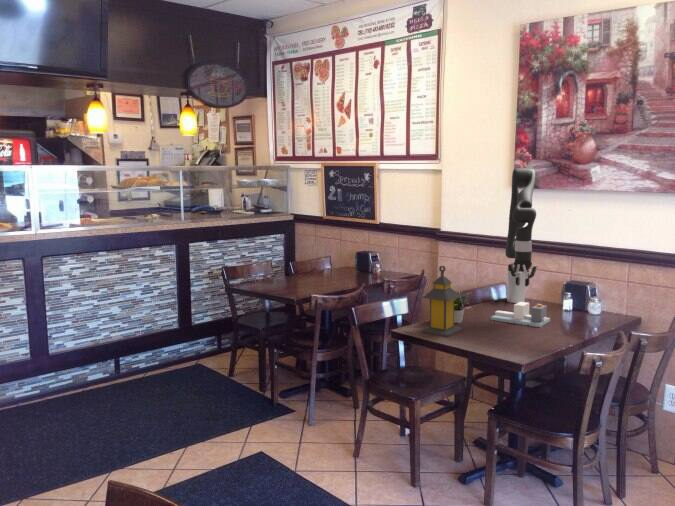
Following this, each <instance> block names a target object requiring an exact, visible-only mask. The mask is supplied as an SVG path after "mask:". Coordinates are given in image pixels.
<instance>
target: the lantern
mask: <svg viewBox="0 0 675 506" xmlns="http://www.w3.org/2000/svg"><path fill="white" fill-rule="evenodd" d="M438 269H439V272H440V276H438V278H437V279H435V281H433V282H432V284H433V288H432V289H431V290H430V291H429V292H427V293H426V294H425V295H424V296H422V298H423V299H428V300H429V326H427V327H425V328H422V329H421V333H424V334H429V335H435V336H439V337H440V336H441V337H446V338H447V337H451V336H454V335H455V333H456V334H458V333H460V332H462V331H463V328H462V327H459V326H455V323H454V300H455V299H456V298H459V297H463V296H462V295H459V292H457V291H456V292H455V289H453V288H452V287H451V284H453V282H452V281H451V280H449V279H448V277H446V276H445V271H446V266H445V265H440V266H439V267H438ZM461 330H462V331H461ZM459 331H460V332H459ZM457 332H458V333H457ZM453 334H454V335H453Z"/></svg>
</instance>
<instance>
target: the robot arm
mask: <svg viewBox="0 0 675 506" xmlns="http://www.w3.org/2000/svg"><path fill="white" fill-rule="evenodd" d="M535 182H536V171H535V170H534V169H533V168H525V167H524V168H521V167H519V168H517V167H516V168H514V169H513V171H512V175H511V194H510V195H511V197H510V198H511V199H510V207H509V216H508V229H507V238H506V243H505V256H506V258H508V259H514V262H513V263H509V264H508V265H507V292H506V295H507V296H506V298H507V299H506V302H508V303H511V304H513V303H514V304H517V303H519V302H525V300H526V299H525V298H526V297H525V295H526V287H528V286H529V285H530V279H532V278H534V277H535V274H536V272H537V270H538V265H535V264H533V262H532V252H533V249H532V248H533V246H532V245H533V244H532V237H533V236H532V234H533V227H534V224H535V221H536V218H537V212H536V209H535V208H533V192H534V191H535V190H534V189H535V184H536V183H535ZM519 187H521V188H522V187H523V189H521V190H520V191H519ZM526 224H527V225H526ZM525 225H526V226H525ZM530 269H531V272H530Z"/></svg>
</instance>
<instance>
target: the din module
mask: <svg viewBox="0 0 675 506" xmlns="http://www.w3.org/2000/svg"><path fill="white" fill-rule="evenodd" d="M513 313H514V319H519V320H524V315H526V314H527V315H530V302H528V301H527V302H519V303H514V304H513Z"/></svg>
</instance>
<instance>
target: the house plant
mask: <svg viewBox="0 0 675 506" xmlns="http://www.w3.org/2000/svg"><path fill="white" fill-rule="evenodd" d="M454 291H455V292H457V289H456V288H454ZM471 293H472V291H470V292H468V293H465V294H464V295H463V290H462V289H460V290H459V292H458V294H459V295H461V296H462V295H463V296H462V297H459V298H456V299H454V324H460V323H463V318H464V313H465V308H463V307H462V306H463V305H466V304H468V305H469V302H467V301H469V300H470V299H465V298H467V297H468V296H470V294H471ZM464 299H465V300H464Z"/></svg>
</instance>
